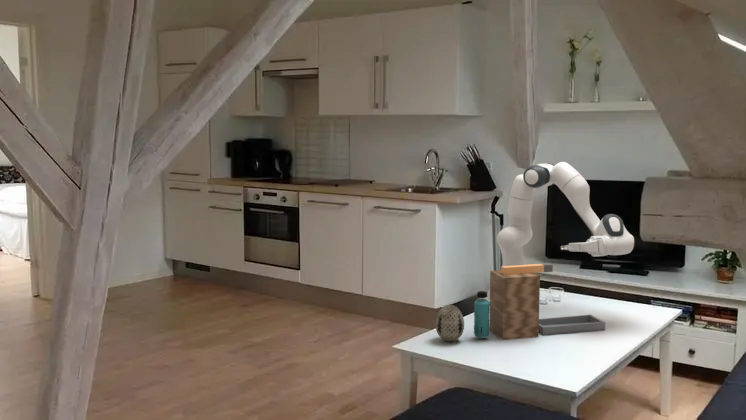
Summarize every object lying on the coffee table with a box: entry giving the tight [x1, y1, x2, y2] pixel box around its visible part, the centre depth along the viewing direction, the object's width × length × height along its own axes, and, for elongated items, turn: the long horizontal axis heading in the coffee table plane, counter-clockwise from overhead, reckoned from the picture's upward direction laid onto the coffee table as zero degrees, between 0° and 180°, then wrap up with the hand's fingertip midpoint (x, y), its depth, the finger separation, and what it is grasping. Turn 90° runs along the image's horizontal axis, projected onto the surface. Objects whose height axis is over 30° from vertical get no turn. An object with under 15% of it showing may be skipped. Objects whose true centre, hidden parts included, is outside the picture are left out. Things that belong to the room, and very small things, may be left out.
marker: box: [500, 262, 554, 275], centre depth 296 cm, size 22×3×3 cm, turn 103°
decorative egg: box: [435, 304, 465, 342], centre depth 288 cm, size 12×12×15 cm
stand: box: [489, 269, 541, 341], centre depth 297 cm, size 16×14×26 cm
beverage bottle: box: [473, 290, 490, 338], centre depth 290 cm, size 6×7×20 cm
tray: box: [539, 314, 606, 337], centre depth 304 cm, size 29×12×4 cm, turn 103°
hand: (564, 247), depth 304 cm, fingers open, 8 cm apart
